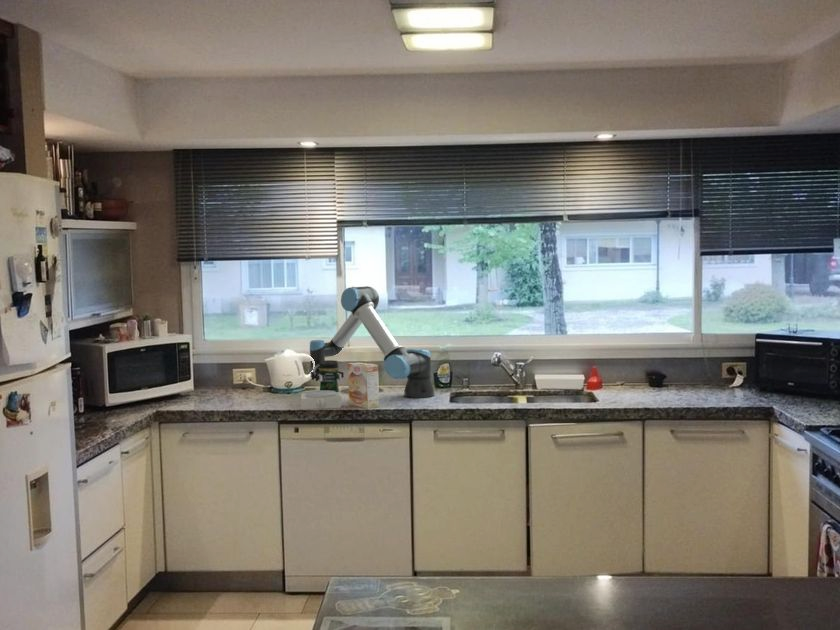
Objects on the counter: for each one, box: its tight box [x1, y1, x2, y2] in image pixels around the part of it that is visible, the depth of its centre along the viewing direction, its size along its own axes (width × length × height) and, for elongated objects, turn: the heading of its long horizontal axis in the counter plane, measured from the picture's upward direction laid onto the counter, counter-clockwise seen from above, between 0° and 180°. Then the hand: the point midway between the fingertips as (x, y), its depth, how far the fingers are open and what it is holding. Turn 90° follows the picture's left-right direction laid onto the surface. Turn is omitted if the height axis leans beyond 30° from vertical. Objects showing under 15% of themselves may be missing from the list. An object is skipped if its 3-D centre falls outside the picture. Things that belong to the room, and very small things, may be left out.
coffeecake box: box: [347, 361, 380, 409], centre depth 354 cm, size 15×7×20 cm, turn 40°
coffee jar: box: [319, 359, 340, 392], centre depth 374 cm, size 10×8×19 cm
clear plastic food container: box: [300, 389, 342, 410], centre depth 355 cm, size 18×16×6 cm
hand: (331, 377), depth 369 cm, fingers closed on coffee jar, 9 cm apart
